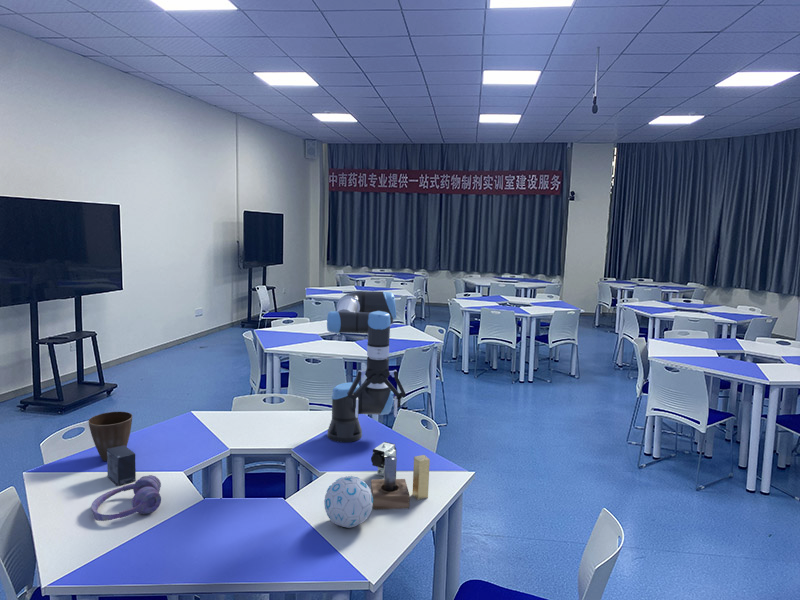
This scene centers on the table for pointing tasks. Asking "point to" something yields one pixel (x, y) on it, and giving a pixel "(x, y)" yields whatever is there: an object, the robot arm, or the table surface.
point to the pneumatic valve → (382, 456)
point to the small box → (121, 465)
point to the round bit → (390, 473)
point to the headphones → (142, 501)
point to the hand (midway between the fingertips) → (376, 416)
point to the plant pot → (110, 431)
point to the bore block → (390, 495)
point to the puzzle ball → (348, 501)
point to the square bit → (421, 477)
